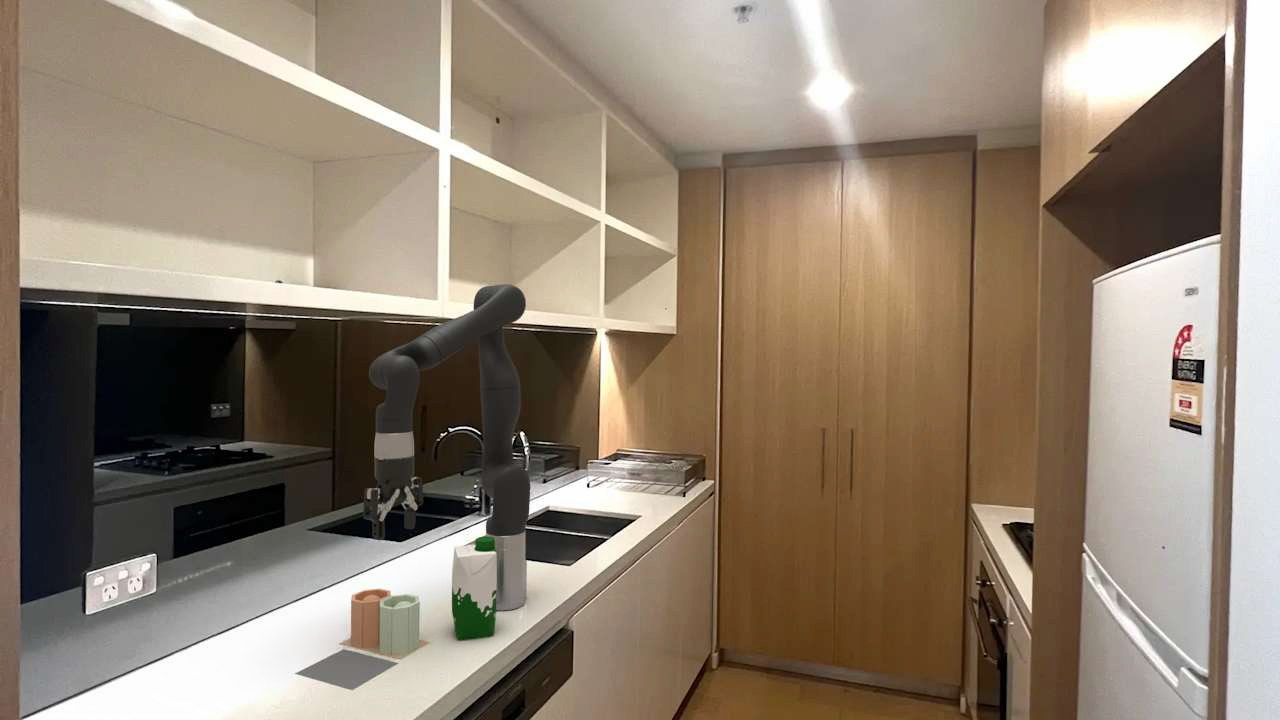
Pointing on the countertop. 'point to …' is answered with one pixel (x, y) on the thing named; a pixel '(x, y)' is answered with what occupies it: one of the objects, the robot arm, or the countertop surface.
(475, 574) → the milk carton
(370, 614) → the tubes
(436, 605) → the countertop surface
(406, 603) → the ball sage
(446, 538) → the countertop surface
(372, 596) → the ball rust
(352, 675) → the mat
